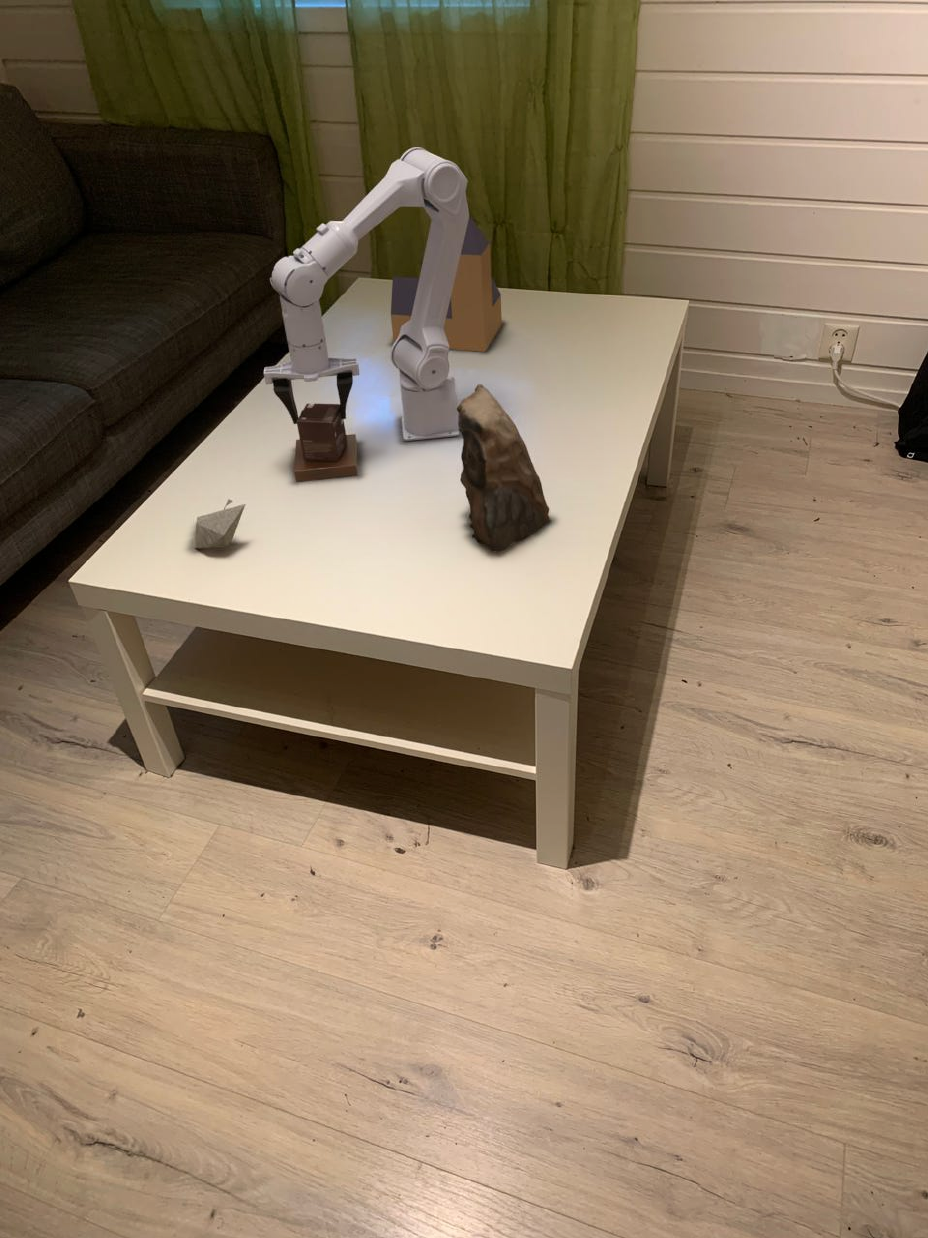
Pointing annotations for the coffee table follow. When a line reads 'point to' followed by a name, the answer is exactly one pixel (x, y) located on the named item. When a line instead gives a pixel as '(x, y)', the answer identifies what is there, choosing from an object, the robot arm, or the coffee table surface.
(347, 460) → the copper block
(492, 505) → the brown rock
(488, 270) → the toy building blocks
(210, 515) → the paper boat
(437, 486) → the coffee table surface
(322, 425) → the box
